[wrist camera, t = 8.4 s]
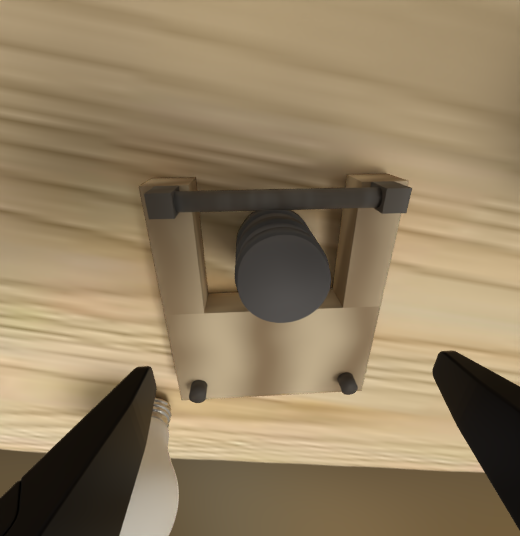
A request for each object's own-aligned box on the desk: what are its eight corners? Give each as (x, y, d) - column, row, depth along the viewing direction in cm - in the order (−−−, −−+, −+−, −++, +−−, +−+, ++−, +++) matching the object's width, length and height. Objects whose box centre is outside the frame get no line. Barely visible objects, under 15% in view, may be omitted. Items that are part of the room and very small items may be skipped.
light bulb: (180, 367, 23) (136, 544, 13) (204, 417, 26) (182, 592, 16) (104, 382, 24) (5, 567, 14) (136, 430, 27) (74, 609, 17)
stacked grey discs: (310, 202, 18) (339, 236, 12) (305, 269, 20) (328, 323, 14) (235, 204, 17) (231, 239, 12) (238, 271, 20) (236, 327, 14)
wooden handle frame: (387, 173, 17) (428, 187, 13) (351, 367, 24) (370, 411, 21) (152, 178, 16) (125, 194, 13) (187, 375, 24) (176, 422, 20)
